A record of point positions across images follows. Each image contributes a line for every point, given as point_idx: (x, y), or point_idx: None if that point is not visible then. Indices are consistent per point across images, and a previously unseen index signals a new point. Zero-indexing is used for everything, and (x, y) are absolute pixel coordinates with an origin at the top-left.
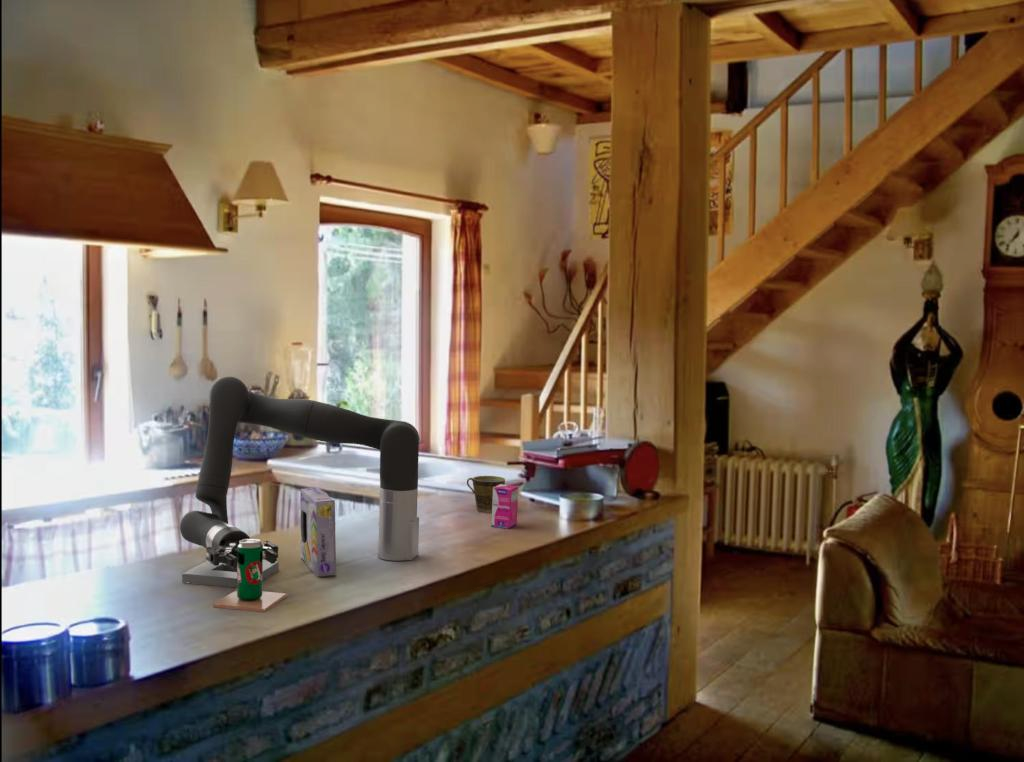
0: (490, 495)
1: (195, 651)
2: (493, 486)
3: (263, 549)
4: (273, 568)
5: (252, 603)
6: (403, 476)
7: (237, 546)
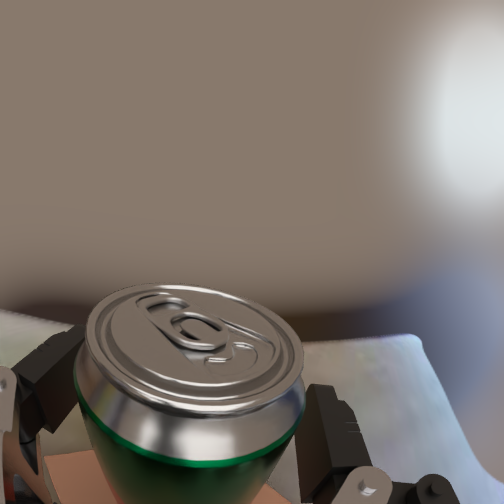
0: None
1: (370, 351)
2: None
3: (18, 412)
4: None
5: None
6: None
7: (303, 409)
